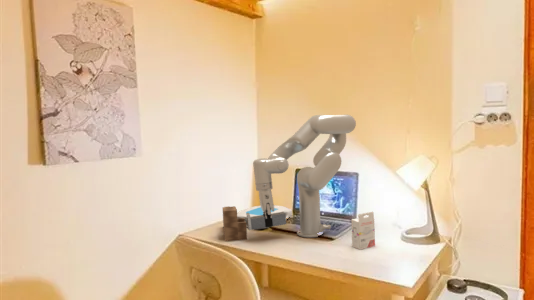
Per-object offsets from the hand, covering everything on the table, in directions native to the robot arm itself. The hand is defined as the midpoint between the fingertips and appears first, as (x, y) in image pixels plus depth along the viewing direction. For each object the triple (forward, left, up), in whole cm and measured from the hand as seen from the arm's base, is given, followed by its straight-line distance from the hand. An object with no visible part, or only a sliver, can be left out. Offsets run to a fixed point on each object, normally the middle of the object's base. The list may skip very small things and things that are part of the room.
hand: (268, 225), depth 173 cm
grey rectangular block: (0, 0, 0) cm, 0 cm away
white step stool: (-2, -31, -7) cm, 32 cm away
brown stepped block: (+15, -14, -7) cm, 21 cm away
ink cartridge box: (-36, +21, -7) cm, 43 cm away
